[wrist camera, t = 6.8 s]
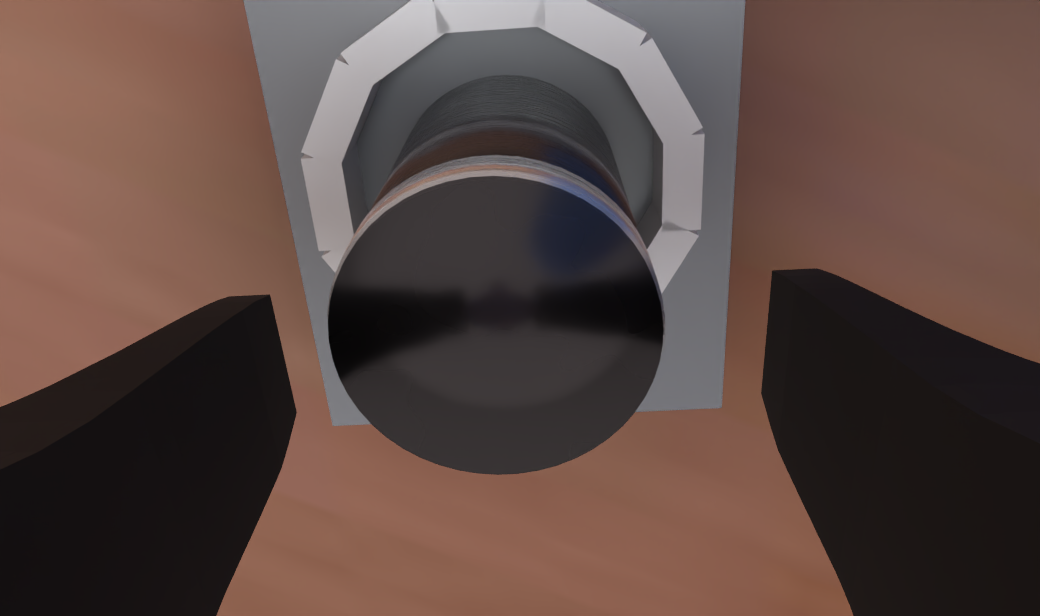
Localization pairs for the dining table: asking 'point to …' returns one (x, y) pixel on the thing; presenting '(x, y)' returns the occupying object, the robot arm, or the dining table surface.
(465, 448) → the lens
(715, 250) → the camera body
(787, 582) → the dining table surface
